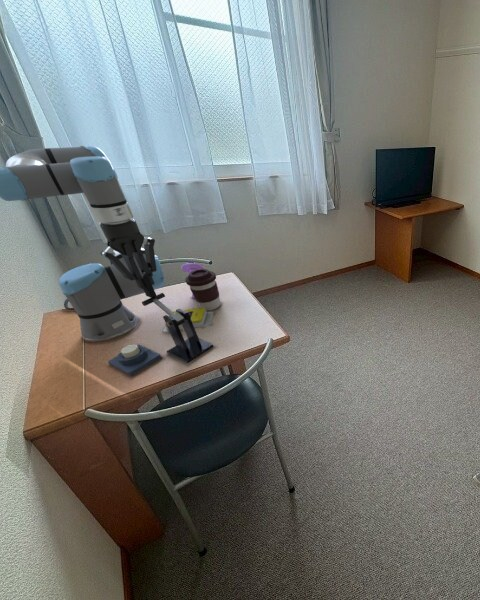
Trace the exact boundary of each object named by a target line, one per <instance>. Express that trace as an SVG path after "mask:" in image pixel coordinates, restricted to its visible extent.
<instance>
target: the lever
mask: <svg viewBox="0 0 480 600" xmlns="http://www.w3.org/2000/svg"><path fill="white" fill-rule="evenodd" d="M156 295H157V296H155V297H153V298H150V297H148V298H147V299H145V300H142V301H141V304H142V306H144V307H146V306H148V305H150V304H152V303H153V304H155V305H156V306H157V307H158V308H159V309H161V310H162V311H163V312H165V314H166V315H167V316H171V317H172V318H174V319H176V322H177V324H178V326H179V325H180V324H182V323H184V317H183V316H182V315H180V314H179V313H178V312H177V313H173V312H174V311H172V310H171V309H170V308H169V307H168V306H167V305H165V304H164V302H162V301H160V300H161V299H164V298H165V297H166V295H165V293H164V292H160V293H159V294H156Z"/></svg>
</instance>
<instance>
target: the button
mask: <svg viewBox="0 0 480 600" xmlns="http://www.w3.org/2000/svg"><path fill="white" fill-rule="evenodd" d="M137 345H138V344H129V345H126V346H124V347H123V348H121V350H120V352H121V353H122V354H123V356H124V357H125V358H130V357H134V356H136V355H137V354H139V353H140V350H139V348H138V346H137Z"/></svg>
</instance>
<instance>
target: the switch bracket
mask: <svg viewBox="0 0 480 600" xmlns="http://www.w3.org/2000/svg"><path fill="white" fill-rule="evenodd" d="M184 310H185V309H181V308H177V309H175V311H176V312H178V313H179V314H180V315H182V316H183V317H184V323H182V326H183V328H184V329H183V331H184V334H185V335H186V337H187V339H185V338H184V335H183V333H182V330H180V329H179V326H178V324H177V322H176V319H174V318H172V317H170V316H169V315H168V314H165V315H163V316H162V318H163V320H164V322H165V325H167V327H168V329H169V331H170V332H169V333H170V336H171V338H172V340H173V343H174V345H175V346H173V347H171V348H169V349H167V350H166V354H167V355H169V356H172V357H173V358H175V359H177V360H180V361H181V362H184V363H185V364H190V363H191V362H193V361H194V360H196V359H197V358H199V357H200V356H202V355H203V354H206V352H208V351H210V350H211V349H212V348H214V345H213V344H212V343H210V342H208V341H205V340H204V339H201V338H199V336H198V334H197V331H196V328H194V326H193V323H192V321H191V318H190V316H189V313H188V312H186V311H184Z"/></svg>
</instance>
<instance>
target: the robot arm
mask: <svg viewBox="0 0 480 600" xmlns="http://www.w3.org/2000/svg"><path fill="white" fill-rule="evenodd" d="M79 194H81V195H82V197H83V199H84V201H85V203H86V205H87V207H88V209H89V211H90V213H91V215H92V217H93V218H94V221H95V223H96V225H97V227H98V229H99V231H100V233H101V235H102V237H103V239H104V240H105V242H106V245H107V247H106V249H104V250H101V251H100V252H99V253H100V255H101V256H103V257H104V258H106V259H107V260H108V261H109V263H110V265H109V266H108V265H107V266H104V265H102V264H101V263H97V262H96V263H94V262H93V263H88V264H83V265H79V266H77V267H75V268H72V269H70V270H67V271H66V272H64V273H63V274H62V275H61V276H60V278H59V279H58V285H59V287H60V289H61V291H62V294H63V295H64V296H65V297H66V298H65V299H64V302H63V307H64V309H65V310H67V311H74V312H75V314H76V315H77V316H78V318H79V325H80V334H81V337H82V338H83V340H84V341H85V342H86V343H87V342H88V343H102V342H107V341H111V340H112V341H113V340H115V339H117V338H119V337H122V336H125V335H126V334H128V333H130V332H131V331H133V330H134V329H135V328H136V327H137V326H138V324H139V319H138V317H137V316H136V314H135V313H134V312H132V311H131V310H130V309H129V308H127V307H126V305H124V304H123V302H122V300H124V299H128V298H131V297H135V296H138V295H142V294H144V295H145V296H146V297H148V298H153V297H155V296H157V295H158V294H157V293H156V290H158V289H161V288H164V287H165V285H166V278H165V275H164V271H163V268H162V264H161V262H160V259H159V256H158V255H156V253H155V243H156V239H155V238H151V237H147V236H146V237H145V236H144V235H143V234H142V233H141V232H140V228H139V226H138V223H137V221H136V220H135V218H133V217H134V214H133V211H132V209H131V207H130V205H129V203H128V201H127V199H126V196H125V193H124V191H123V189H122V186H121V184H120V182H119V177H118V174H117V172H116V169H115V168H114V167H113V165H112V162H111V161H110V159H109V158H108V156H107V155H106V154H105V153H104V151H103V150H102V149H101V148H99V147H97V146H93V145H91V146H90V145H89V146H85V145H79V146H65V147H46V148H43V147H42V148H34V149H33V148H32V149H28V150H25V151H21V152H19V153H16V154H13V155H12V156H10V157H9V158H8V159H7V160H6V163H5V166H0V199H2V200H3V201H6V202H16V201H22V202H23V201H27V200H34V199H42V198H50V197H57V196H68V195H79ZM68 303H69V304H70V305H71V307H70V306H69V305H68Z"/></svg>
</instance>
